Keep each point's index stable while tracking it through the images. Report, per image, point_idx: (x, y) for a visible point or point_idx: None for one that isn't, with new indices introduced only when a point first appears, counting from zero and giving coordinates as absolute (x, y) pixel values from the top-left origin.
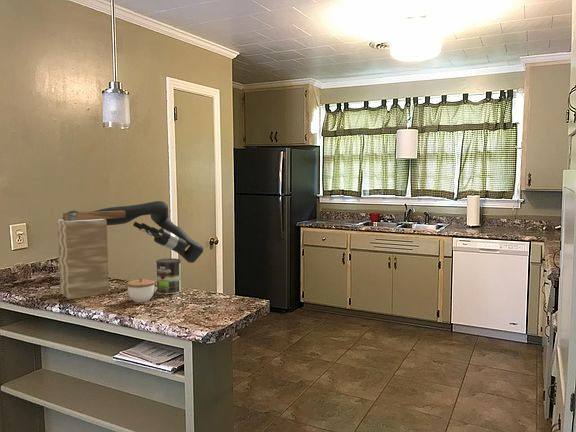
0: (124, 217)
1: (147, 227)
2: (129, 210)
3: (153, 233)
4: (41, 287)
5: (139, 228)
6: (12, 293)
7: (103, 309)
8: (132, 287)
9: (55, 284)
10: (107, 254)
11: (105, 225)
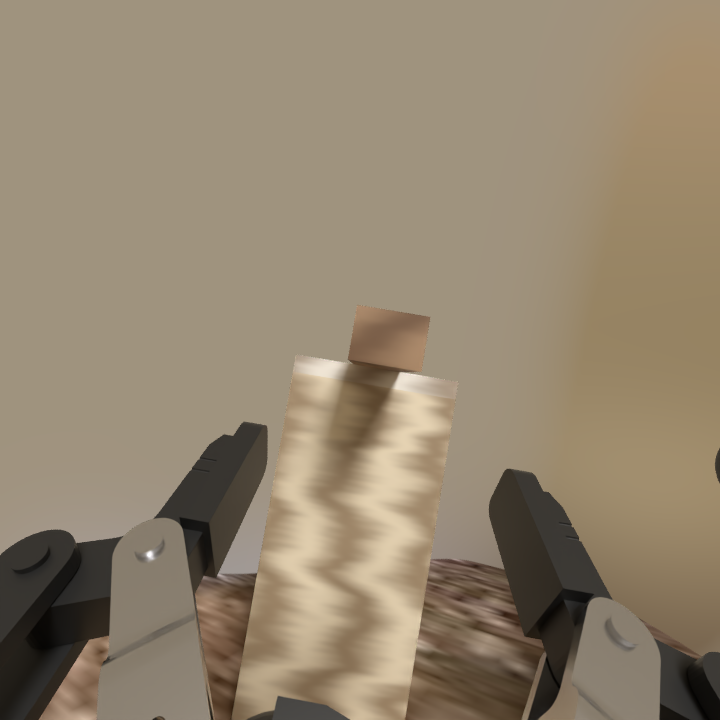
0: (348, 357)
1: (183, 509)
2: None
3: (9, 688)
4: (497, 619)
5: (519, 614)
6: (446, 562)
7: None
8: None
9: None
10: (265, 530)
11: (292, 382)
